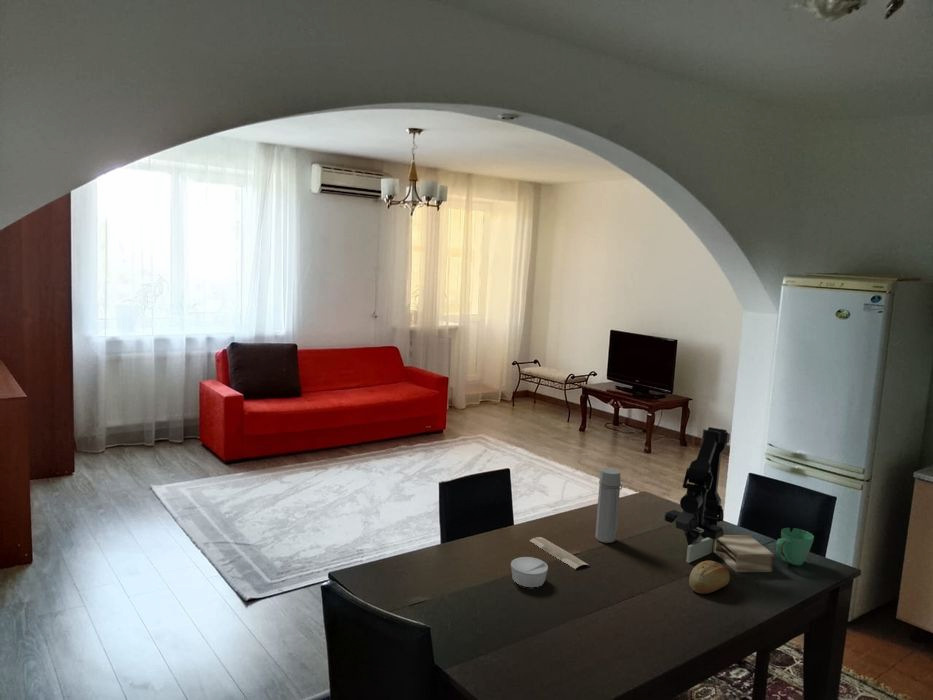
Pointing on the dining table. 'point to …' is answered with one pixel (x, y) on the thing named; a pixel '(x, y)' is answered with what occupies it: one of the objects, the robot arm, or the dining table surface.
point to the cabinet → (744, 553)
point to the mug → (794, 545)
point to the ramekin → (529, 571)
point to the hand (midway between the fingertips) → (690, 548)
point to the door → (699, 549)
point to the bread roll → (708, 577)
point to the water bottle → (608, 505)
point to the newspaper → (558, 552)
